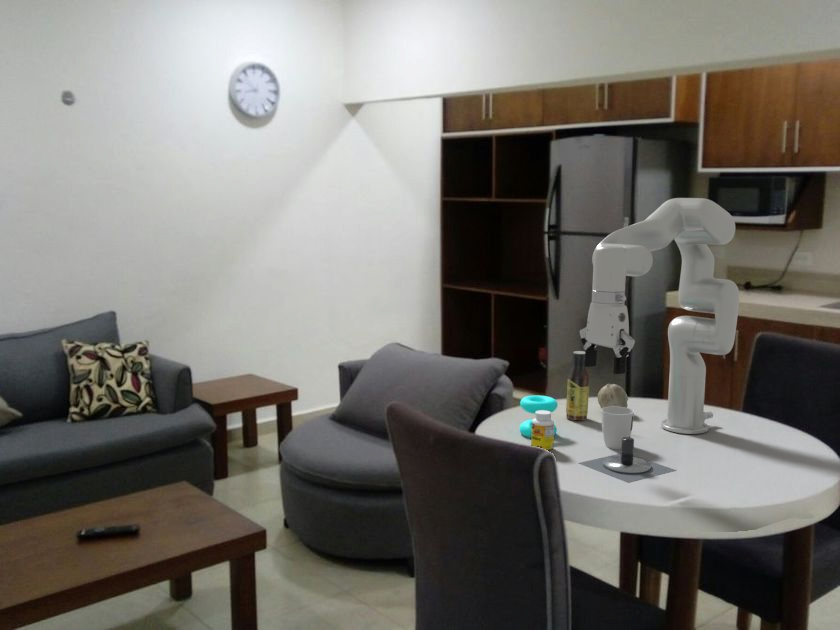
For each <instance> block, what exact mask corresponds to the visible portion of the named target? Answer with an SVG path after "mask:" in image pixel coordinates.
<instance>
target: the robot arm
mask: <svg viewBox="0 0 840 630" xmlns="http://www.w3.org/2000/svg"><path fill="white" fill-rule="evenodd" d="M735 234H736V222H735V219H734V217H733V216H732V215H731V214H730V212H728V211H727V210H725V208H723V207H722V206H720V205H719V204H718V203H716V202H715V201H713V200H711V199H708V198H704V197H703V198H702V197H700V198H699V197H676V198H675V197H674V198H670V199H668V200H666V201H664V202H663V203H662V204H661V205H660V206H659V207H658V208H657V209H655V211H653V212H652V213H651V214H650V215H649V216H647V218H645V220H642V221H638V222H636V223H633V224H631V225H628V226H625V227H622V228H619V229H617V230H615V231H613V232H611V233H610V234H608V235H607V236H606V237H604V239H602V240H601V241H600V242H599V243H598V244H597V245H596V247H595V248H594V251H593V253H592V257H591V260H592V261H591V262H592V266H593V268H592V286H591V287H592V288H591V289H592V291H591V302H590V304H589V308H588V314H587V322H586V326H585V327H584V328H582V329H580V330H579V336H580V341H581V344H582V345H583V347H582V348H583V350H584V352H585V367H586V368H591V367H596V366H597V357H598V356H597V354H598V350H597V349H596V347H597V346H600V347H604V348H610V349H612V350H613V352H614V354H615V356H614V358H613V371H612V372H613V374H615V375H622V374H623V375H624V374H625V373H626V369H627V367H626V364H627V357H629V354H630V353H632V351H633V348H634V345H635V343H636V340H635V339H634V338H633V337H632V336H631V335H630V325H629V324H630V323H629V322H630V321H629V320H630V319H629V312H628V307H627V306H628V305H625V301H626V300H627V297H626V281H627V280H626V277H627V276H628V277H641V276H644V275H646V274H647V273H648V272H649V271H650V270H651V268H652V267H653V262H654V259H653V258H654V257H653V254H652V253H651V252H654V251H659V250H662V249H664V248H666V247H667V246H668V245H670V244H671V243H672V242H673V241H675V243H676V245H677V247H678V249H679V251H680V252H679V253H680V255H681V269H680V277H679V285H678V295H677V297H678V298H677V299H678V300H677V301H678V305H679V306H680V308H682V309H684V310H686V311H688V312H689V311H690V312H697V313H705V314H714V318H710V317H702V316H694V315H679V316H677V317H675V318H673V319H672V320H671V321H670V322H669V325H668V328H667V337H668V345H669V377H668V378H669V379H668V395H667V396H668V397H667V416H666V417H667V418H666V419H664V420H663V419H662V421H661V423H660V427H661V428H663V429H664V430H666V431H668V432H671V433H678V434H683V435H684V434H685V435H686V434H687V435H698V434H699V435H700V434H705V433H707V432H708V431H709V425H708V423H706V422H705V421H706V420H708V419H712V418H713V417H714V414H713V412H712V411H704V410H705V409H704V407H705V391H706V375H707V366H706V363H705V361H704V358H703V357H702V355H701V354H702V353H703V354H709V355H715V356H717V355H718V356H725V355H727V354H729V353H730V352H731V351H732V349H733V347H734V345H735V339H736V333H737V332H736V331H737V324H738V323H737V322H738V315H739V306H740V291H739V288H738V286H737V284H736V283H735V282H734V281H733V280H731V279H727V278H715V276H714V273H715V256H714V254H713V252H712V250H711V249H710V247H709V246H708V245H716V246H723V245H727V244H728V243H730V242H732V240H733V239H734V237H735Z"/></svg>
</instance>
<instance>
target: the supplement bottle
mask: <svg viewBox="0 0 840 630" xmlns="http://www.w3.org/2000/svg"><path fill="white" fill-rule="evenodd" d="M554 425H555V421H554V419H553V418H552V412H549V411H545V410H539V411H536V412H535V415H534V418H533V420H532V436H531V444H530V447H531V446H535V447H540V448H543V449H546V450H548V451H550V452H552V451H554V440H555V439H554V437H555V435H554ZM550 452H549V453H550Z"/></svg>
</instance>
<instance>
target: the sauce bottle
mask: <svg viewBox="0 0 840 630" xmlns="http://www.w3.org/2000/svg"><path fill="white" fill-rule="evenodd" d="M569 371H570V372H569V374H568V377H567V385H566V386H567V387H566V403H565V414H566V415H565V416H566V419H568V420H570V421H572V420H578V421H577V422H580V421H579V420H583V421H586V420H587V418H588V413H589V396H590V394H589V393H590V374H589V372H588V370H587V367H585V350H584V351H583V350H582V351H581V350H576V351H573V352H572V367H571V369H570V370H569Z"/></svg>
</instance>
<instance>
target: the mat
mask: <svg viewBox="0 0 840 630" xmlns="http://www.w3.org/2000/svg"><path fill="white" fill-rule="evenodd" d="M613 456H621V453H617V454H612V455H608V456H603V457H598V458H594V459H590V460H586V461H582V462H578V464H579V465H582V466H584V467H587V468H589V469H592V470H594V471H597V472H599V473H601V474H605V475H606V476H610V477H613V478H615V479H618V480H620V481H623V482H625V483H628V484H630V483H633V482H637V481H641V480H645V479H648V478H652V477H653V478H654V477H656V476H657V477H658V476H661V475H665V474H668V473H669V474H670V473H672V472H676V471H677V469H675V468H670V467H669V466H665V465H663V464H660V463H657V462H654V461H651V460H649V459H645V458H642V457H640V456H637V455H634V454H633V457H636V458H640V459H643V460H646V461H647V462H649V463H650V464H651V470H650V471H649V472H647V473H643V474H622V473H617V472H613V471H610V470H608V469H606V468H605V467H604V466H603V460H604V459H606V458H608V457H613Z"/></svg>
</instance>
